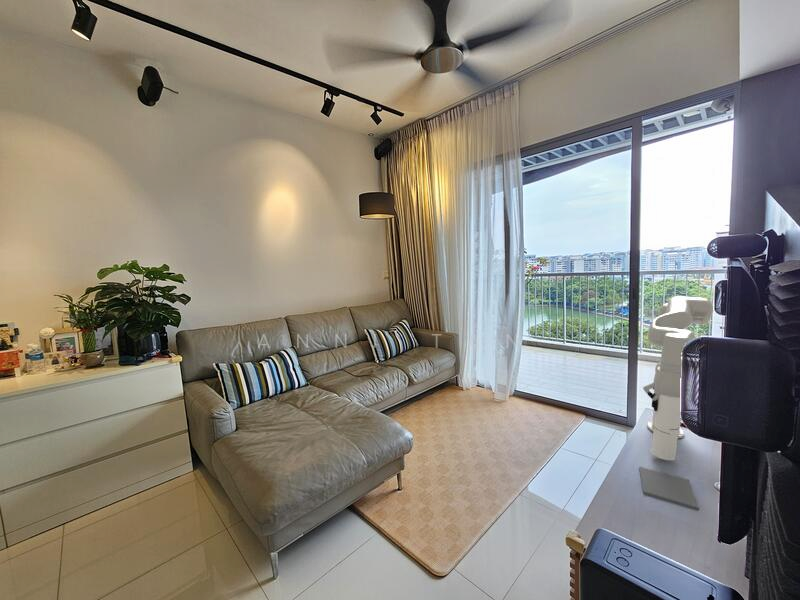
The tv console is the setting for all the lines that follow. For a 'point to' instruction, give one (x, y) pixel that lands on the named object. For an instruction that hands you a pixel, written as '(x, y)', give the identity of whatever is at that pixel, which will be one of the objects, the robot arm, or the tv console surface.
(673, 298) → the robot arm
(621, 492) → the tv console surface
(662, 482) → the rubber mat
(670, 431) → the cylindrical container
